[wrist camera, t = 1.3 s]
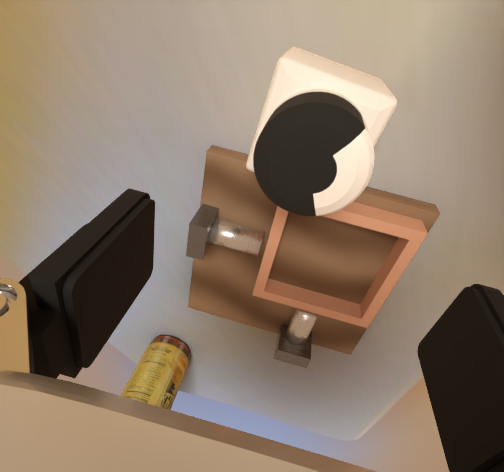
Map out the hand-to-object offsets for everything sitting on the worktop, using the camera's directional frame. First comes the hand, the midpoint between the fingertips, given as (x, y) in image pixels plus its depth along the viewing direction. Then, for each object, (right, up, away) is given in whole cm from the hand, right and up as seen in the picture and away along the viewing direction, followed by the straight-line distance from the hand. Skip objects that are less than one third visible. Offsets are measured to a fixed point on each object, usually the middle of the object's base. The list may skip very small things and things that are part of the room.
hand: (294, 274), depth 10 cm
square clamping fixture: (+3, -1, +24) cm, 25 cm away
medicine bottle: (+4, +11, +16) cm, 20 cm away
